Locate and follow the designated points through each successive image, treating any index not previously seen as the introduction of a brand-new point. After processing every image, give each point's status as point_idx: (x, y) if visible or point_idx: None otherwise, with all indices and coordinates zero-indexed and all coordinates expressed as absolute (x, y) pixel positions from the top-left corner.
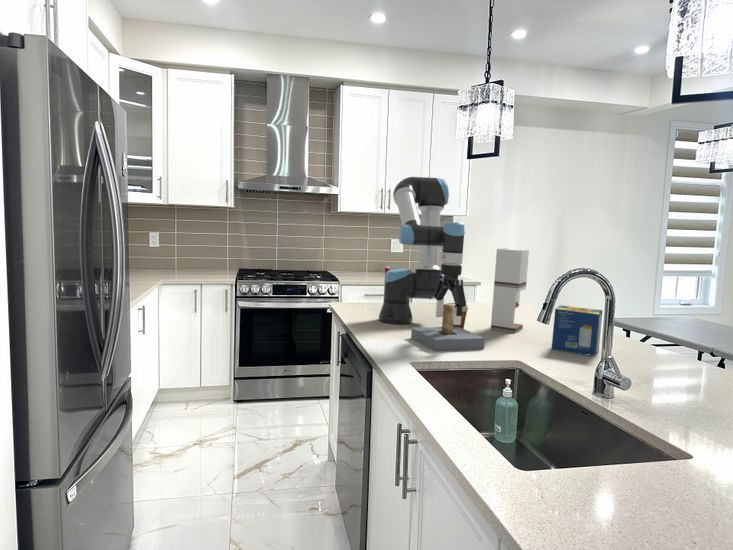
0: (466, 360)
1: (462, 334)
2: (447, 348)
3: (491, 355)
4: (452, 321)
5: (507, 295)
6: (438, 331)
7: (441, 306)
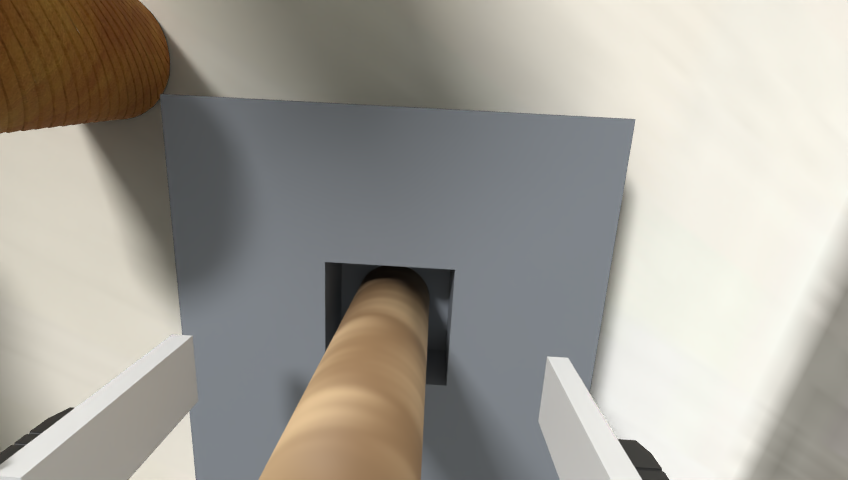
0: (776, 395)
1: (465, 235)
2: None
3: (755, 179)
4: (420, 360)
5: None
6: None
7: (109, 437)
